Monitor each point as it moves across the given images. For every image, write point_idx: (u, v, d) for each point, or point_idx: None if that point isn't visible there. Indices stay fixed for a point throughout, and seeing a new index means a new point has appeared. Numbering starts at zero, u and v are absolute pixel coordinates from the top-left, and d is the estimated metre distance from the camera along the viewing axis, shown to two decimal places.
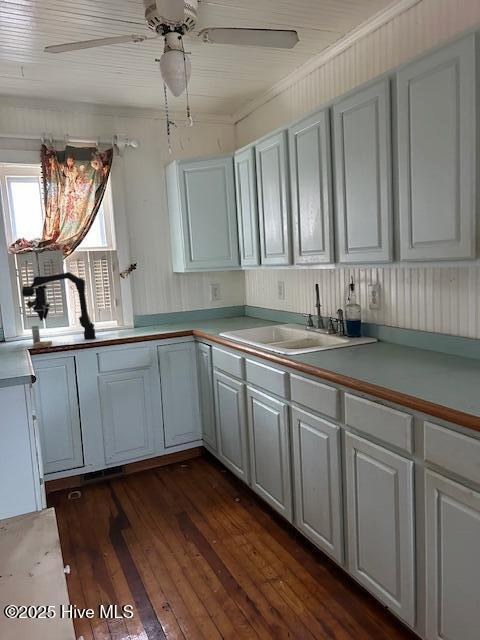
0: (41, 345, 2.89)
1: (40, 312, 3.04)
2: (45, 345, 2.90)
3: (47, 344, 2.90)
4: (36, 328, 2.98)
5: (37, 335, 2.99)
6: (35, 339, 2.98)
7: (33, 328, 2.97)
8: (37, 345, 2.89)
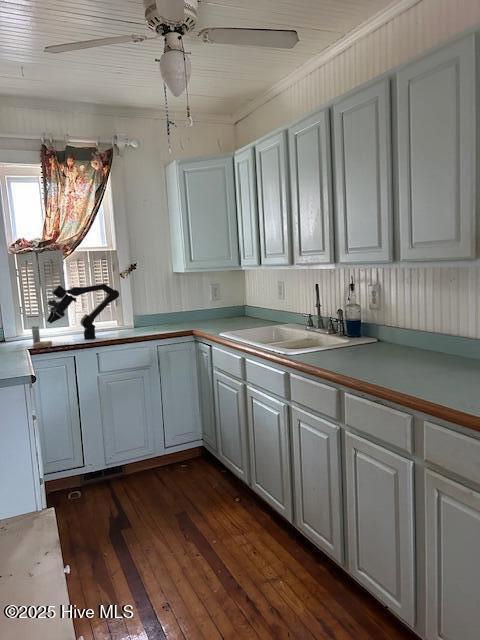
0: (41, 345, 2.89)
1: (56, 316, 2.99)
2: (45, 345, 2.90)
3: (47, 344, 2.90)
4: (36, 328, 2.98)
5: (37, 335, 2.99)
6: (35, 339, 2.98)
7: (33, 328, 2.97)
8: (37, 345, 2.89)
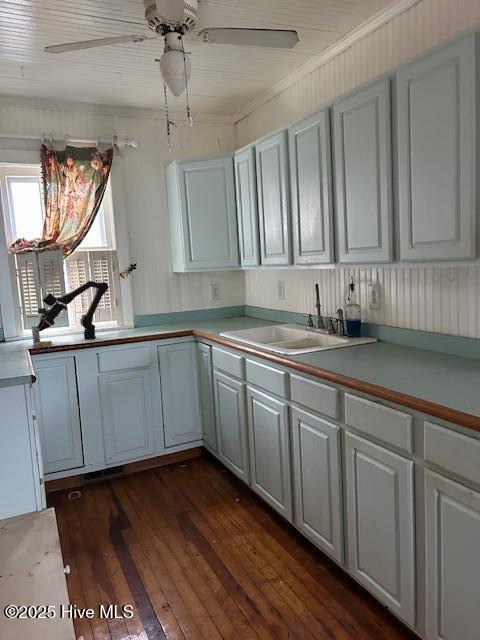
0: (41, 345, 2.89)
1: (45, 324, 2.97)
2: (45, 345, 2.90)
3: (47, 344, 2.90)
4: (36, 328, 2.98)
5: (37, 335, 2.99)
6: (35, 339, 2.98)
7: (33, 328, 2.97)
8: (37, 345, 2.89)
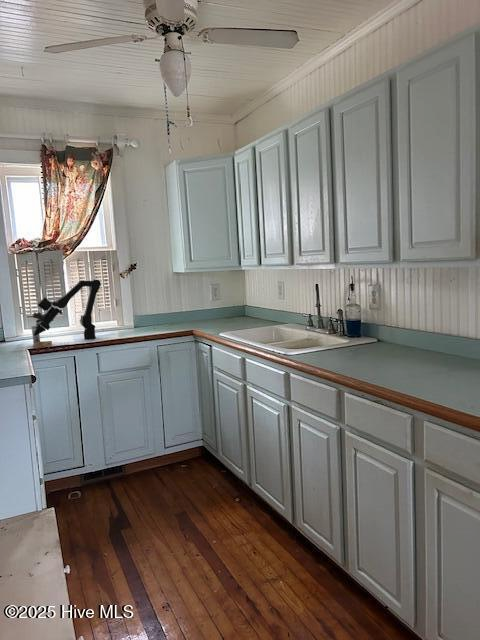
0: (41, 345, 2.89)
1: (40, 328, 2.98)
2: (45, 345, 2.90)
3: (47, 344, 2.90)
4: (36, 328, 2.98)
5: (37, 335, 2.99)
6: (35, 339, 2.98)
7: (33, 328, 2.97)
8: (37, 345, 2.89)
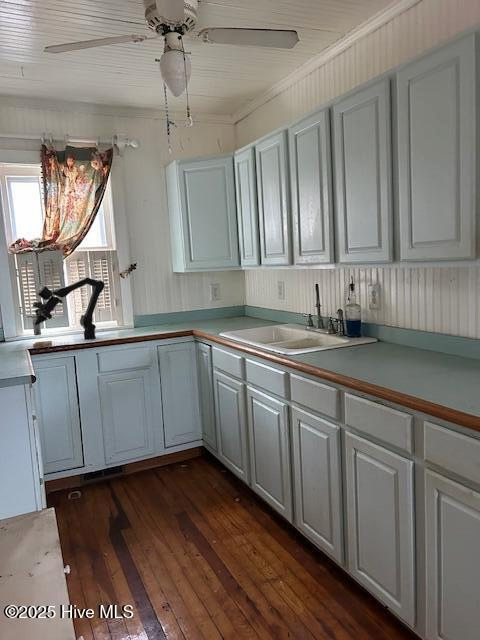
0: (41, 345, 2.89)
1: (41, 318, 2.94)
2: (45, 345, 2.90)
3: (47, 344, 2.90)
4: (37, 317, 2.94)
5: (38, 325, 2.95)
6: (36, 329, 2.94)
7: (34, 317, 2.93)
8: (37, 345, 2.89)
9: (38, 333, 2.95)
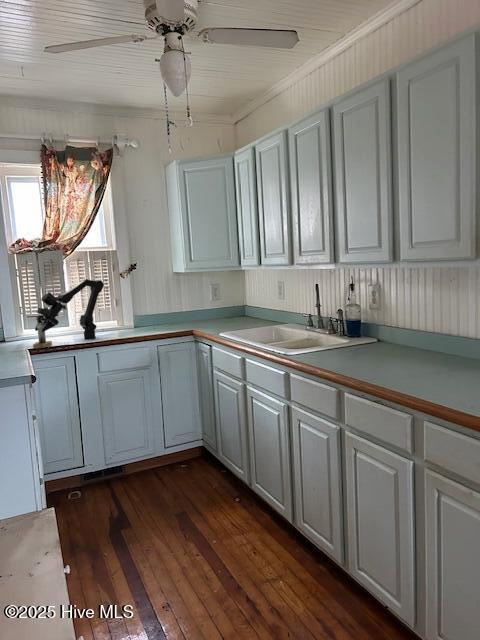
0: (41, 345, 2.89)
1: (49, 324, 2.90)
2: (45, 345, 2.90)
3: (47, 344, 2.90)
4: (43, 325, 2.91)
5: (43, 332, 2.92)
6: (41, 336, 2.91)
7: (40, 325, 2.90)
8: (37, 345, 2.89)
9: (43, 341, 2.92)
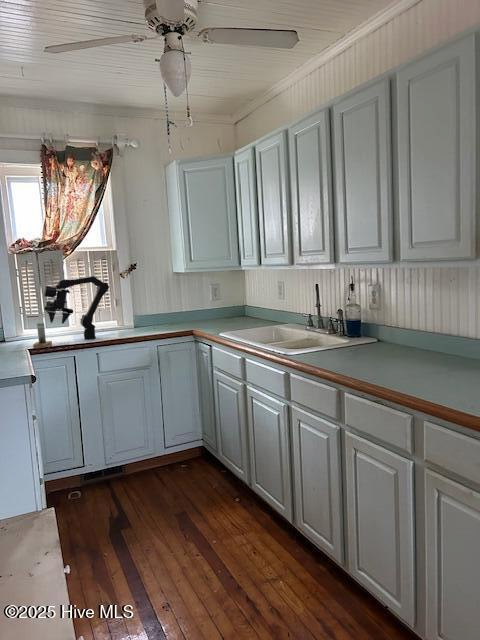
0: (41, 345, 2.89)
1: (51, 314, 3.00)
2: (45, 345, 2.90)
3: (47, 344, 2.90)
4: (42, 325, 2.91)
5: (43, 332, 2.92)
6: (41, 336, 2.91)
7: (39, 325, 2.90)
8: (37, 345, 2.89)
9: (43, 341, 2.92)
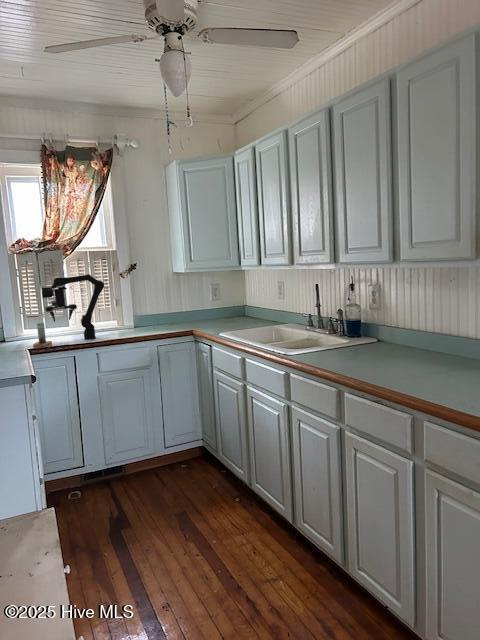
0: (41, 345, 2.89)
1: None
2: (45, 345, 2.90)
3: (47, 344, 2.90)
4: (42, 325, 2.91)
5: (43, 332, 2.92)
6: (41, 336, 2.91)
7: (39, 325, 2.90)
8: (37, 345, 2.89)
9: (43, 341, 2.92)
